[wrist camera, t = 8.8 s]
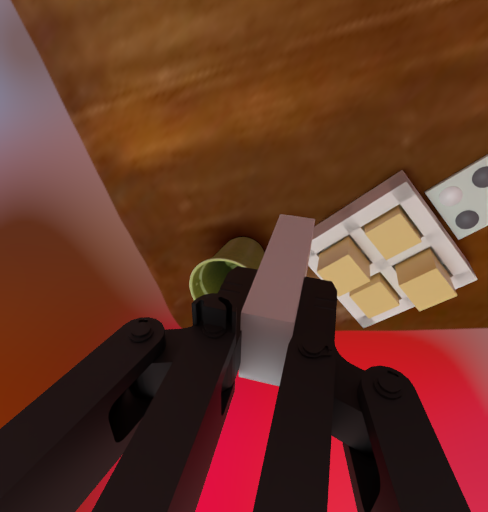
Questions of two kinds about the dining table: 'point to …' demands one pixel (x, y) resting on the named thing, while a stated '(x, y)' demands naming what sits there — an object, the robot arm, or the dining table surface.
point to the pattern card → (463, 198)
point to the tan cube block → (375, 296)
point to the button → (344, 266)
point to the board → (352, 225)
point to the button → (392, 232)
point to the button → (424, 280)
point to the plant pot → (224, 265)
